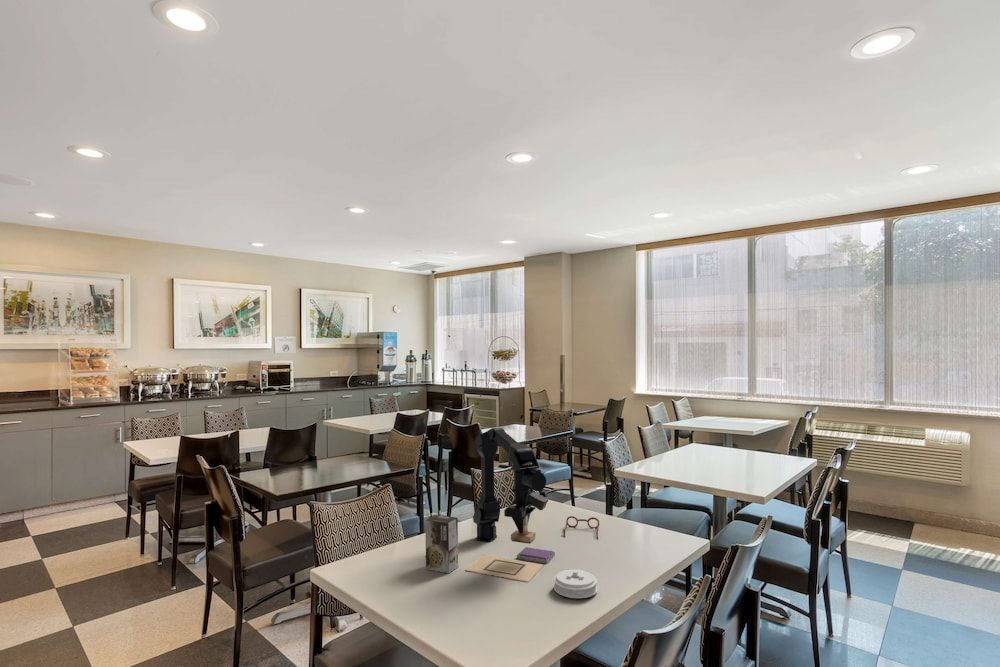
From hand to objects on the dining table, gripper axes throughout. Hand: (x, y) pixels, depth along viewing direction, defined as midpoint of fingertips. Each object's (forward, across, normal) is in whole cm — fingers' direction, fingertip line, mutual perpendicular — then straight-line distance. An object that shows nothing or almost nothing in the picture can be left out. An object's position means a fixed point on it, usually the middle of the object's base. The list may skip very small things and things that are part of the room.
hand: (523, 531), depth 180 cm
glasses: (+11, +36, -11) cm, 39 cm away
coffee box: (+10, -15, +23) cm, 29 cm away
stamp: (+3, 0, 0) cm, 3 cm away
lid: (+11, -15, -22) cm, 29 cm away
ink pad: (+10, +6, -2) cm, 12 cm away
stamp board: (+10, -7, +4) cm, 13 cm away
